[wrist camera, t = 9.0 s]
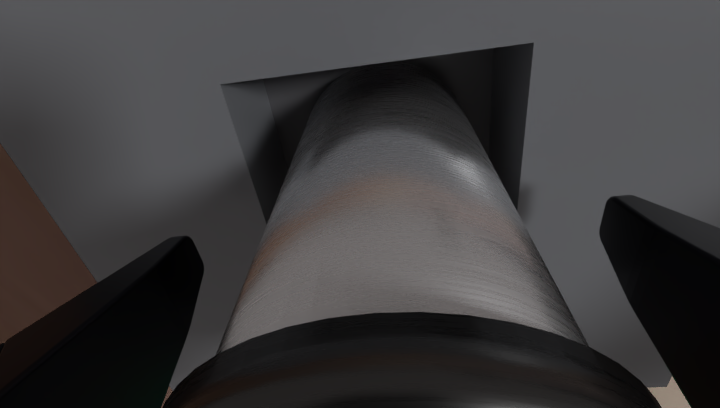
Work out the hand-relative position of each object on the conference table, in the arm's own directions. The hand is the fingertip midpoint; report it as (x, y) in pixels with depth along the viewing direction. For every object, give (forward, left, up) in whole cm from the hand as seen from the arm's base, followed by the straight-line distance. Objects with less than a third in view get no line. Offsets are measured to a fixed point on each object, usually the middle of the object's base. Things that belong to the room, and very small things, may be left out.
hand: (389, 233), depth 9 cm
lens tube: (0, 0, -4) cm, 5 cm away
